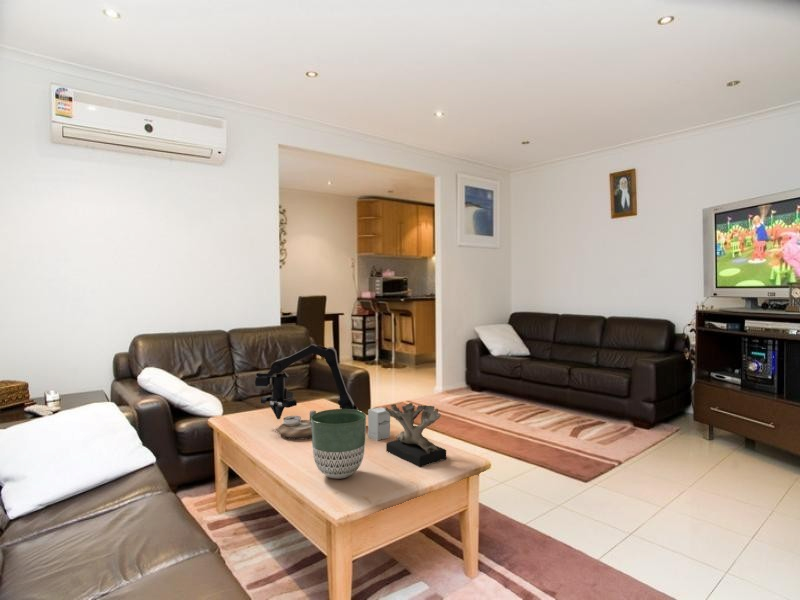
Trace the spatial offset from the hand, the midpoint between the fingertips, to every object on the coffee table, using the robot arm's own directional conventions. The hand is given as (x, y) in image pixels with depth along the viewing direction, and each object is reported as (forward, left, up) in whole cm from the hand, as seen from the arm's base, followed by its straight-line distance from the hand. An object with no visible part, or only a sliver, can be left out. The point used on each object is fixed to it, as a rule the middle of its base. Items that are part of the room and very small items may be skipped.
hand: (278, 419), depth 216 cm
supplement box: (-48, -14, -5) cm, 51 cm away
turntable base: (-14, 0, -5) cm, 15 cm away
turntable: (-14, 0, -3) cm, 15 cm away
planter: (-59, +28, -5) cm, 66 cm away
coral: (-73, 0, -5) cm, 74 cm away
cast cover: (-9, 0, -1) cm, 9 cm away
